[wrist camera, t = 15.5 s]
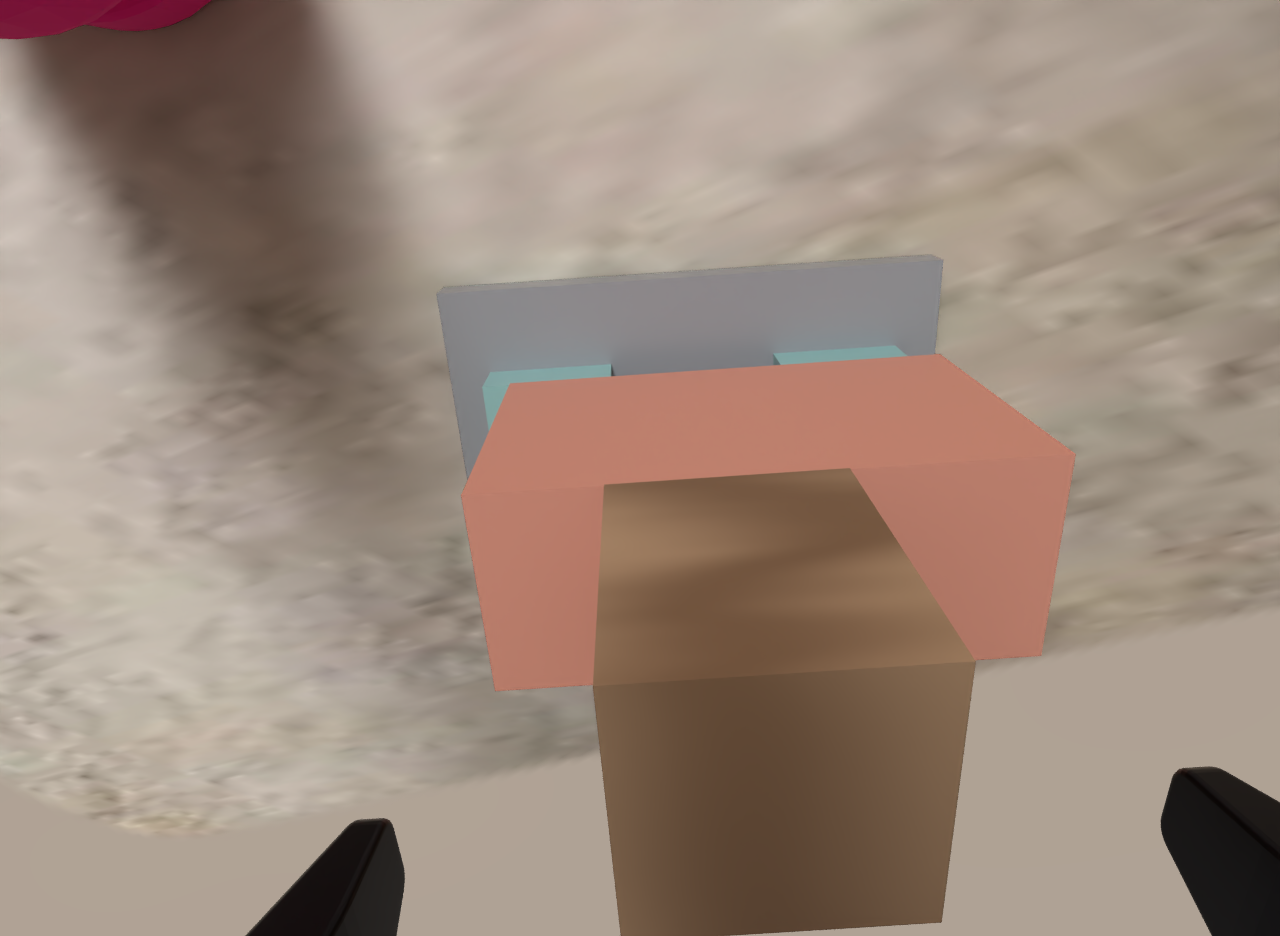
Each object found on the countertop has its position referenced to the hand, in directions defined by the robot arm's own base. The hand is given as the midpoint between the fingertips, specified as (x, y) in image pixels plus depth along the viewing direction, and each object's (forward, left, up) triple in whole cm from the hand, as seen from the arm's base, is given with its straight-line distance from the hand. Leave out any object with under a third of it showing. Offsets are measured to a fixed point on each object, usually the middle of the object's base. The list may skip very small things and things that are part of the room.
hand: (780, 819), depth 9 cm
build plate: (0, 0, -13) cm, 13 cm away
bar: (-1, 0, -11) cm, 11 cm away
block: (0, 0, -5) cm, 5 cm away
